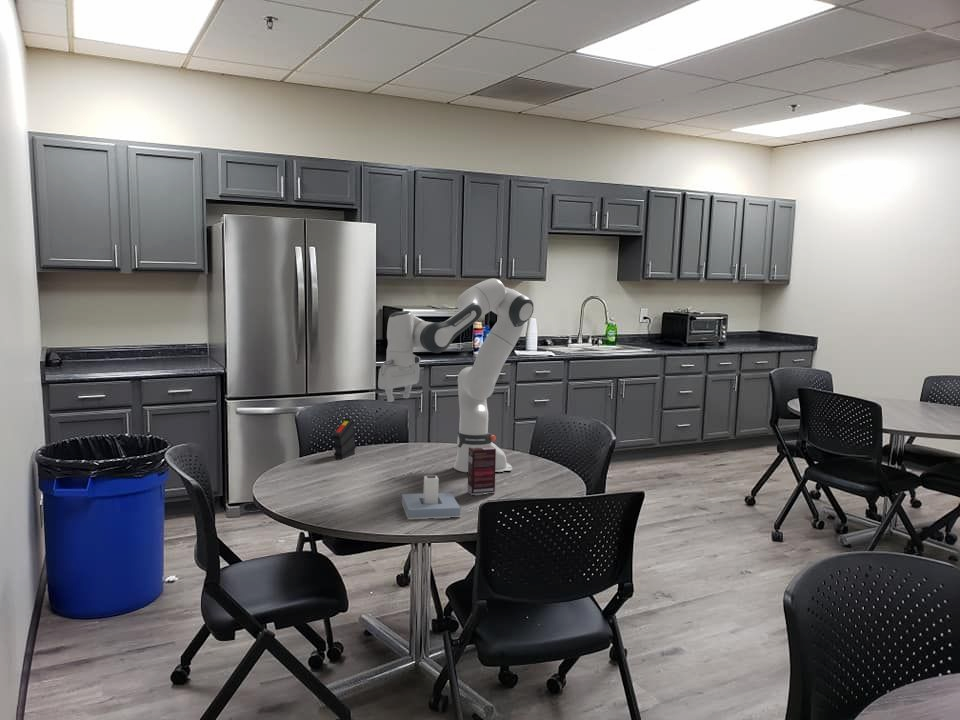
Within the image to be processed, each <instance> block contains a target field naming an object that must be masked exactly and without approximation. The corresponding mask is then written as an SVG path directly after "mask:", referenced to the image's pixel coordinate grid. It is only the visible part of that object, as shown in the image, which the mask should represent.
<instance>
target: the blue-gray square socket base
mask: <svg viewBox="0 0 960 720" xmlns="http://www.w3.org/2000/svg"><path fill="white" fill-rule="evenodd" d="M423 495H424V492H423V493H422V492H421V493H402V494H401V504H402V507H403V510H404V512H405V515H406V518H407V520H427V519H428V518H434V519H451V518H450V517H459V518H461V511H462V510H461V506H460V505H459V503H458V502H457V500H456V499H455V497H454V495H453V493H452V492H438V504H423Z"/></svg>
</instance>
